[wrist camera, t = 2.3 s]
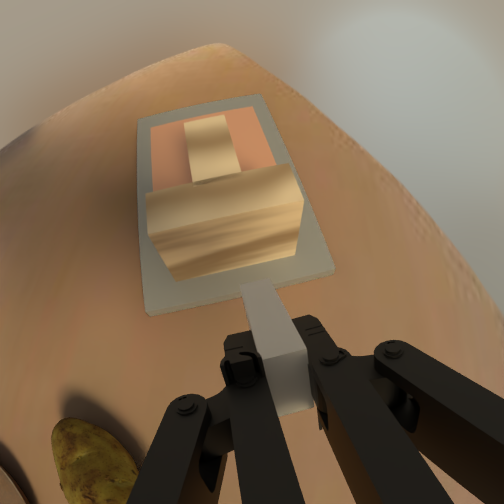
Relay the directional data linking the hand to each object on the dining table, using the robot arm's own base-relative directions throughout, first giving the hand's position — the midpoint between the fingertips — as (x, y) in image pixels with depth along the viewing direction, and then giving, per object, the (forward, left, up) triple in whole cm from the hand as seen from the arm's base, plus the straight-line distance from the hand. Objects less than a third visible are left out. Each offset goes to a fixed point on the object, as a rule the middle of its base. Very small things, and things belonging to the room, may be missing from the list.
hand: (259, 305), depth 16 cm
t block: (-13, +6, -13) cm, 20 cm away
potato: (+1, -19, -15) cm, 24 cm away
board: (-19, +9, -15) cm, 26 cm away
